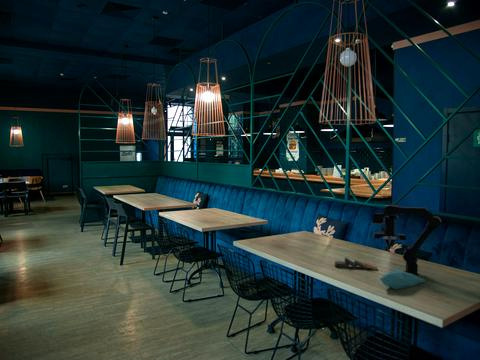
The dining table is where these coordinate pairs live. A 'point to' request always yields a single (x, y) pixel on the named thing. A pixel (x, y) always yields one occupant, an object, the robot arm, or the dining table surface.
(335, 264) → the domino
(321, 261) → the dining table surface
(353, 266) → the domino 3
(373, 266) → the domino
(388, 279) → the crystal
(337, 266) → the domino
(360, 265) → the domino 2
